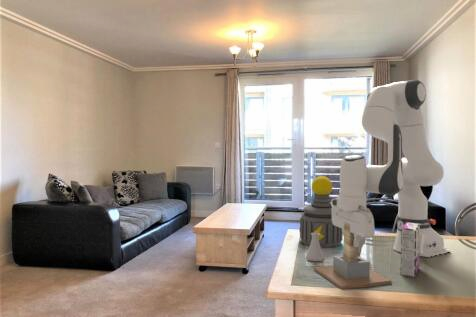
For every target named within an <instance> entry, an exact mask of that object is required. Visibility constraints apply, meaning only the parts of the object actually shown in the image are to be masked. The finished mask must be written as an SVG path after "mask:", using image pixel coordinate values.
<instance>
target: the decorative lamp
mask: <svg viewBox="0 0 476 317" xmlns="http://www.w3.org/2000/svg"><path fill="white" fill-rule="evenodd" d="M311 190H312V192H313V193H314V194H313V197H314V198H312V202H311V204H310V205H306V206H304V207H303V213H301V217H300V218H299V238H300V239H301V243H302V244H304V245H306V246H308V247H310V244H311V240H312V235H311V233H319V234H320V235H319V244H320V247H321V249H322V248H324V249H327V248H336V247H338V246H340V245H341V244H342V241H343V240H344V236H343V233H342V228H340V227H337V226H335V225H333V223H332V207H333V205H332V204H331V200H332V199H331V198H330V194H331V192H332V191H333V184H332V181H331V180H330V178H328V177H326V176H324V175H321V176H318V177H315V178H314V179H313V181H312V183H311Z"/></svg>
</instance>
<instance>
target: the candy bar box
mask: <svg viewBox="0 0 476 317" xmlns="http://www.w3.org/2000/svg"><path fill="white" fill-rule="evenodd" d="M419 248H420V224H417V223H409V222H406V223H405V225H404V226H403V227H402V229H401V252H400V275H401V276H406V277H410V278H416V277H417V274H418V272H419V269H420V256H419Z"/></svg>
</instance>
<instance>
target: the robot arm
mask: <svg viewBox="0 0 476 317" xmlns="http://www.w3.org/2000/svg"><path fill="white" fill-rule="evenodd" d="M426 97H427V91H426V86H425V84H424V83H423V82H422V81H421V80H418V79H410V80H405V81H404V80H403V81H397V82H391V83H389V84H385V85H379V86H377V87H373V88H372V89H371V90H369V92H368V94H367V97H366V103H365V105H364V110H363V113H362V116H361V117H362V118H361V125H362V127H363V130H364V131H365V132H366V133H367V134H368V135H370V136H371V137H373V138H376V139H378V140H381V141H383V142H384V143H385V142H386V144H387V163H386V164H384V165H378V164H377V165H375V164H368V163H367V158H366V157H365V156H364V155H359V154H352V155H346V156H344V157H343V158H341V159H342V160H341V163H340V170H339V184H340V187H339V194H338V197H335V198H332V199H330V200H331V201H330V203H331V205H332V206H333V207H332V223H333V225H335V226H337V227H340V228H342V233H343V237H344V222H346V223H349V224H350V232H351V233H354V237H355V238H354V241H352V246H354V247H359V242H360V240H361V238H362V237H363V238H366V239H371V238H373V237H374V236H375V219H374V215H373V213H372V211H371V209H370V208H368V207H367V194H368V193H372V194H380V195H383V196H389V197H393V196H395V195H397V198H398V211H397V212H398V215H397V217H396V227H397V229H396V235H395V241H394V245H393V247H392V249H393V250H394V251H395V252H397V253H401V229H402V227H403V226H404V225H405V223H406V222H409V223H417V224H420V248H419V257H425V258H431V256H432V257H436V256H435V255H437V256H440V255H439V254H442V255H445V254H444V253H447V252H450V253H451V250H450V249H449V248H448V247H446V246H445V242H444V238H443V236H442V235H441V234H439V233H438V232H437V231H436V230H434V229H433V228H432V227H431V225H435V224H436V219H432V218H430V219H429V218H428V208H429V201H428V198H427V197H426V196H425V195H424V193H423V190H422V189H421V187H430V186H436V185H438V184H439V183H441V181H442V180H443V178H444V174H445V173H444V172H445V171H444V168H443V166H442V164H441V163H440V162H438V161H437V160H436V159H435V157H434V156H433V154H432V152H431V150H430V149H429V145H428V143H427V139H426V132H425V125H424V116H423V113H422V108H421V106H423V104H424V103H425V101H426ZM403 155H404V156H403ZM447 254H448V253H447Z"/></svg>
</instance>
